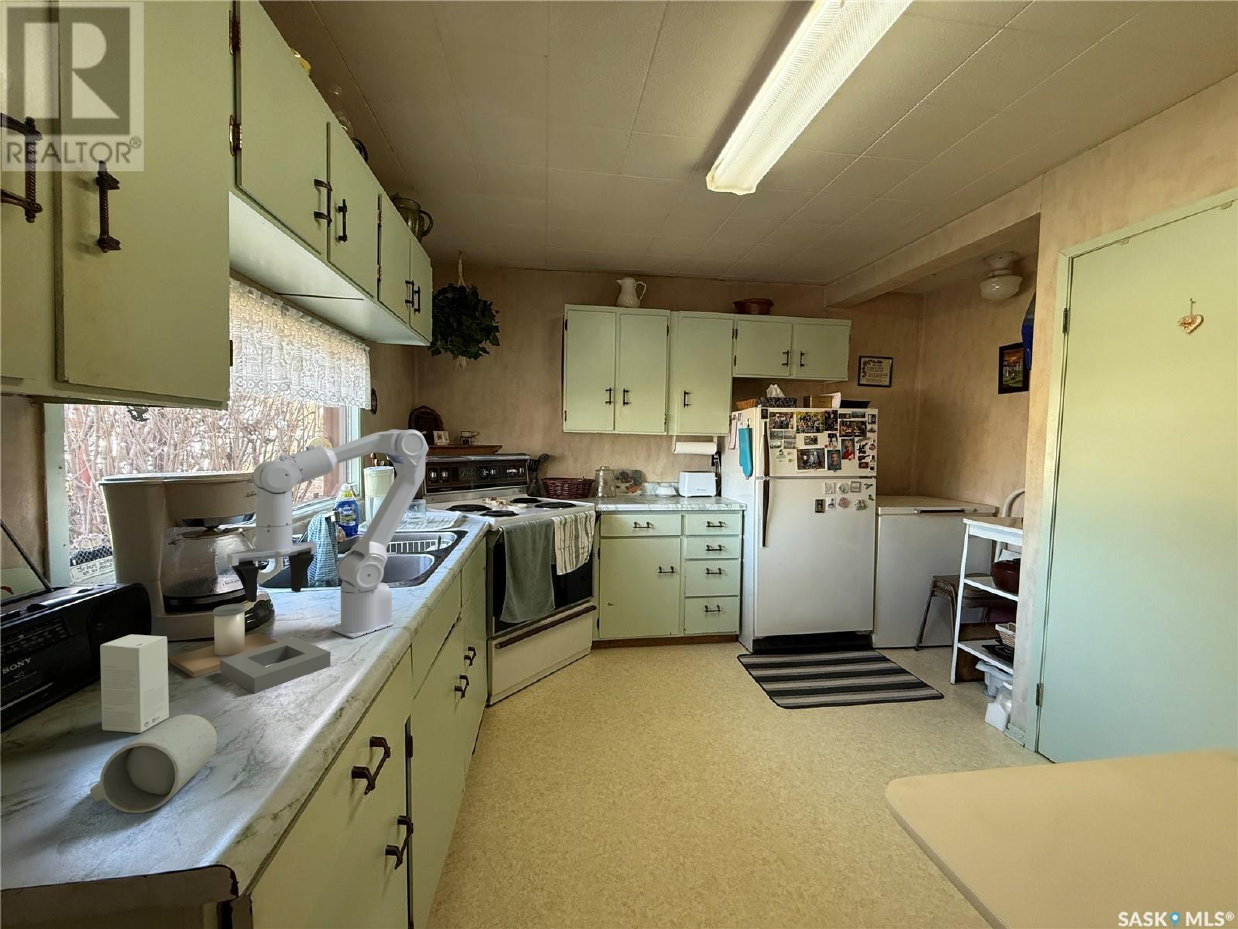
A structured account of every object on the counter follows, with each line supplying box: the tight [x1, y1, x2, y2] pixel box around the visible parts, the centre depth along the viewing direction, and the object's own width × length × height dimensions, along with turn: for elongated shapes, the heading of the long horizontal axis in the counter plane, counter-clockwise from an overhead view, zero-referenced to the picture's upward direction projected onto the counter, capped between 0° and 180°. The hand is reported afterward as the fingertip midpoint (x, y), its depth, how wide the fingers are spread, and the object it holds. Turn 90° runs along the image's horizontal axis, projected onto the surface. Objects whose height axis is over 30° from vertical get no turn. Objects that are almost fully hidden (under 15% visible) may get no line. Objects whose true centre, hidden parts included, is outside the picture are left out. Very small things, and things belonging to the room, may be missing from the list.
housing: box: [219, 636, 331, 694], centre depth 89 cm, size 12×12×2 cm
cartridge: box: [213, 603, 246, 656], centre depth 93 cm, size 5×5×8 cm
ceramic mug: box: [89, 713, 219, 814], centre depth 58 cm, size 11×8×8 cm
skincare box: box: [99, 633, 170, 734], centre depth 71 cm, size 6×4×12 cm
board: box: [169, 632, 279, 678], centre depth 94 cm, size 14×10×1 cm
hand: (274, 596), depth 96 cm, fingers open, 7 cm apart
